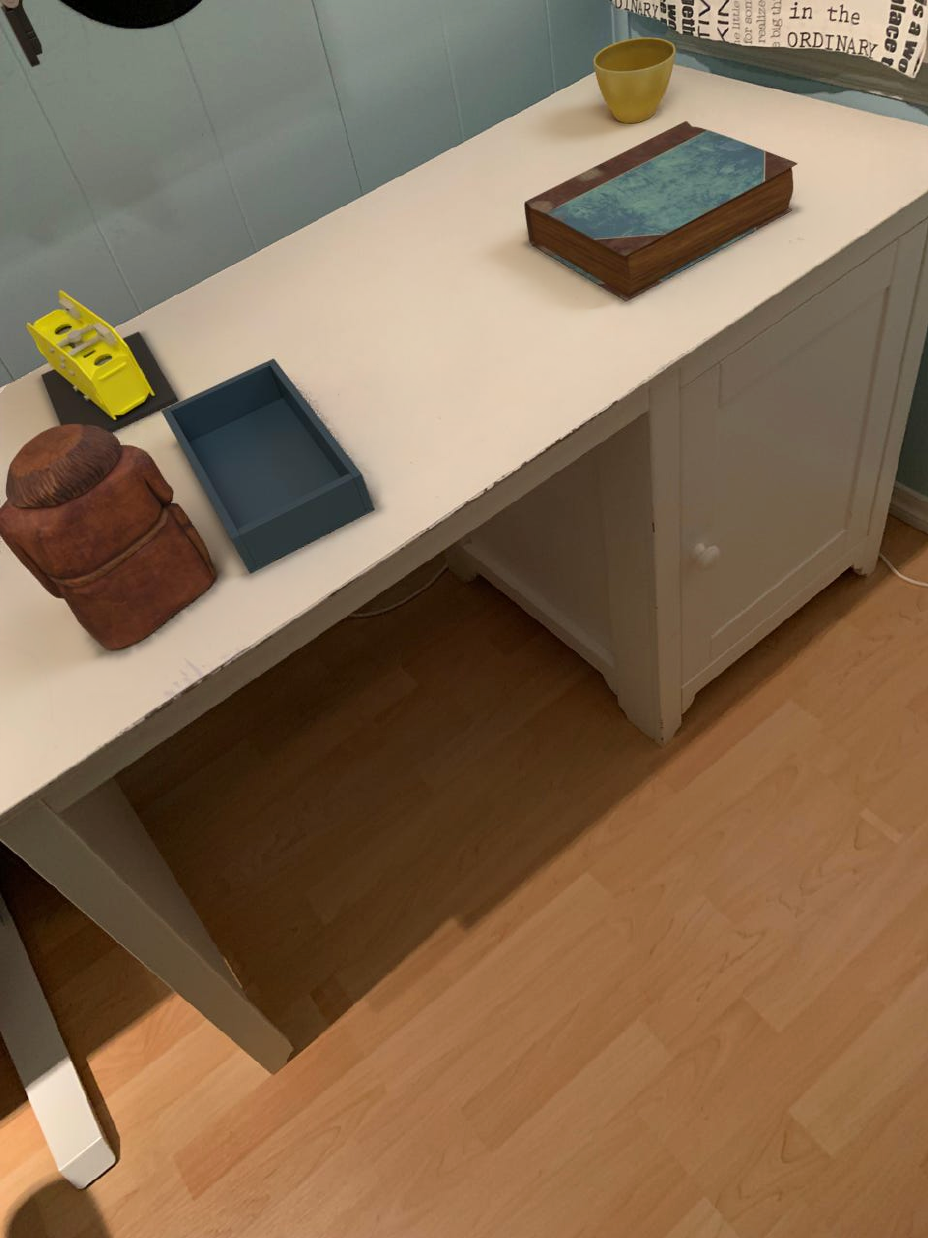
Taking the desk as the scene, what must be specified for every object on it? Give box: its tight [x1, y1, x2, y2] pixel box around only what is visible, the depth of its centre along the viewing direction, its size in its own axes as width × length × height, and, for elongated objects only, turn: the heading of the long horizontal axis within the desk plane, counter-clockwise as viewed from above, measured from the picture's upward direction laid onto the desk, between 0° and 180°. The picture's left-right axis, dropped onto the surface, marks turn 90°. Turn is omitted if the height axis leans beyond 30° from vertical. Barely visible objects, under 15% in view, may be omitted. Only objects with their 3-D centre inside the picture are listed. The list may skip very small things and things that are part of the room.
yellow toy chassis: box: [26, 289, 155, 420], centre depth 93 cm, size 16×6×8 cm, turn 43°
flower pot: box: [592, 37, 676, 124], centre depth 112 cm, size 10×10×7 cm
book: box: [523, 120, 799, 302], centre depth 95 cm, size 23×18×5 cm
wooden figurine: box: [0, 424, 217, 650], centre depth 67 cm, size 12×6×18 cm, turn 134°
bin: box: [160, 358, 375, 574], centre depth 81 cm, size 12×22×4 cm, turn 29°
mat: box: [41, 331, 179, 433], centre depth 96 cm, size 12×16×1 cm
